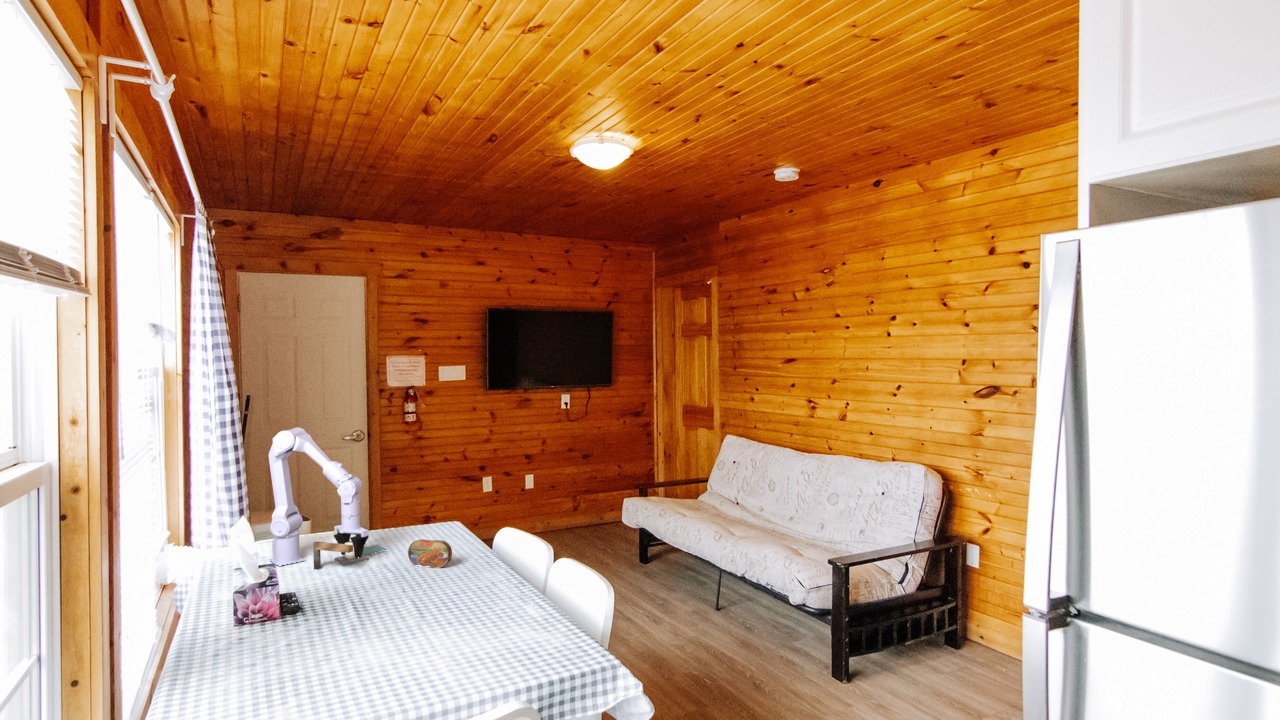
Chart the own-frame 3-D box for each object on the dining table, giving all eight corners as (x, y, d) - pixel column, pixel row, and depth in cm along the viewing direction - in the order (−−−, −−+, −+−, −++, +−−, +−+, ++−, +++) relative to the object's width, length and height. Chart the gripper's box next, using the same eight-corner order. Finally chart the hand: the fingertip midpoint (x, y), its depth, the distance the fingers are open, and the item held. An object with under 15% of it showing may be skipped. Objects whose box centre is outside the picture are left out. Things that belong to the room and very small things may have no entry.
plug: (343, 560, 225) (342, 542, 225) (355, 557, 228) (354, 540, 227) (348, 563, 222) (347, 545, 222) (360, 560, 225) (359, 542, 225)
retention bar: (312, 569, 216) (311, 543, 216) (317, 567, 218) (316, 541, 218) (349, 573, 212) (348, 546, 212) (353, 571, 214) (353, 544, 213)
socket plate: (334, 560, 225) (334, 557, 225) (358, 555, 230) (358, 552, 230) (344, 565, 219) (344, 562, 219) (368, 560, 225) (368, 557, 225)
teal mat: (354, 551, 235) (354, 549, 235) (376, 546, 241) (376, 544, 241) (364, 555, 230) (364, 554, 230) (387, 550, 235) (387, 549, 235)
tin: (407, 565, 219) (407, 539, 218) (413, 562, 222) (413, 537, 221) (448, 569, 214) (447, 542, 214) (454, 566, 217) (453, 540, 217)
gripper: (325, 515, 225) (326, 555, 225) (354, 520, 217) (355, 562, 218) (344, 510, 231) (345, 550, 231) (373, 515, 224) (374, 556, 224)
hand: (351, 555), depth 225 cm, fingers open, 6 cm apart
